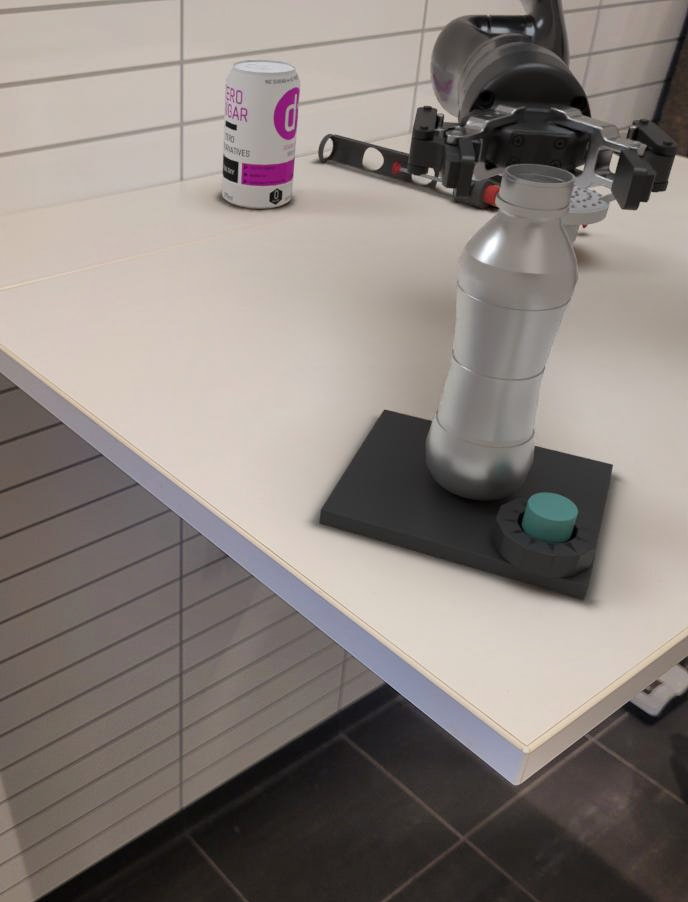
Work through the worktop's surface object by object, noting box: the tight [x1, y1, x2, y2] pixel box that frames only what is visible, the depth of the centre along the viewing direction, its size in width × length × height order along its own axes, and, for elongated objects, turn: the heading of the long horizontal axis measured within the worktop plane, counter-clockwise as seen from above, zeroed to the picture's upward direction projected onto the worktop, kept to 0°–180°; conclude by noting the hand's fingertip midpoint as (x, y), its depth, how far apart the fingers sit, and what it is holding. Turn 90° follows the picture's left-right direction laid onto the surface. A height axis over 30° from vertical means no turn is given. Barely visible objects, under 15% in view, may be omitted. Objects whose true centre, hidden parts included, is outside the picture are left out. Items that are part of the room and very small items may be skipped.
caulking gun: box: [317, 133, 589, 229], centre depth 115 cm, size 4×37×10 cm
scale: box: [318, 408, 614, 601], centre depth 61 cm, size 16×14×3 cm
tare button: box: [522, 493, 578, 543], centre depth 55 cm, size 3×3×2 cm
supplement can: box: [221, 59, 301, 210], centre depth 107 cm, size 8×8×15 cm
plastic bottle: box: [426, 164, 579, 501], centre depth 55 cm, size 6×7×20 cm
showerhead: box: [562, 185, 616, 244], centre depth 97 cm, size 9×7×10 cm
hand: (550, 185), depth 48 cm, fingers open, 8 cm apart
